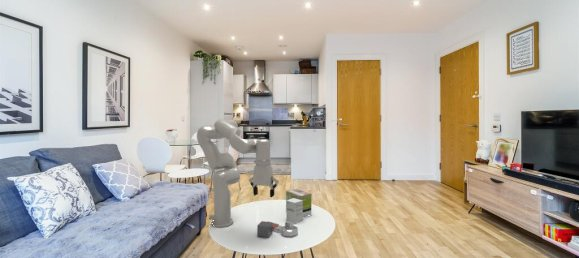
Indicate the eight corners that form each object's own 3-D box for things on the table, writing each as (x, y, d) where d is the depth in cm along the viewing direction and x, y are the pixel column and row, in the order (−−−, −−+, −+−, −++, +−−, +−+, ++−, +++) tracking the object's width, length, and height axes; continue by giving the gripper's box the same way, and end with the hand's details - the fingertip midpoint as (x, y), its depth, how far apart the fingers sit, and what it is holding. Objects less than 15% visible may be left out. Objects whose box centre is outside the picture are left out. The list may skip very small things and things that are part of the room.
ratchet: (300, 233, 142) (300, 221, 142) (291, 239, 135) (291, 226, 135) (270, 224, 155) (270, 213, 155) (260, 229, 148) (260, 217, 147)
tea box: (285, 212, 175) (285, 190, 175) (297, 209, 181) (297, 188, 181) (300, 219, 163) (300, 195, 163) (312, 215, 169) (312, 192, 169)
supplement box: (285, 220, 160) (285, 200, 160) (294, 217, 166) (294, 197, 166) (294, 223, 155) (294, 202, 155) (303, 220, 161) (303, 200, 160)
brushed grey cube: (257, 236, 138) (257, 225, 138) (261, 232, 144) (261, 221, 143) (268, 238, 136) (268, 226, 136) (272, 233, 142) (272, 222, 142)
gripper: (245, 163, 137) (245, 196, 137) (274, 164, 130) (275, 199, 130) (252, 161, 144) (253, 192, 144) (281, 162, 137) (281, 195, 137)
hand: (263, 195), depth 137 cm, fingers open, 9 cm apart
